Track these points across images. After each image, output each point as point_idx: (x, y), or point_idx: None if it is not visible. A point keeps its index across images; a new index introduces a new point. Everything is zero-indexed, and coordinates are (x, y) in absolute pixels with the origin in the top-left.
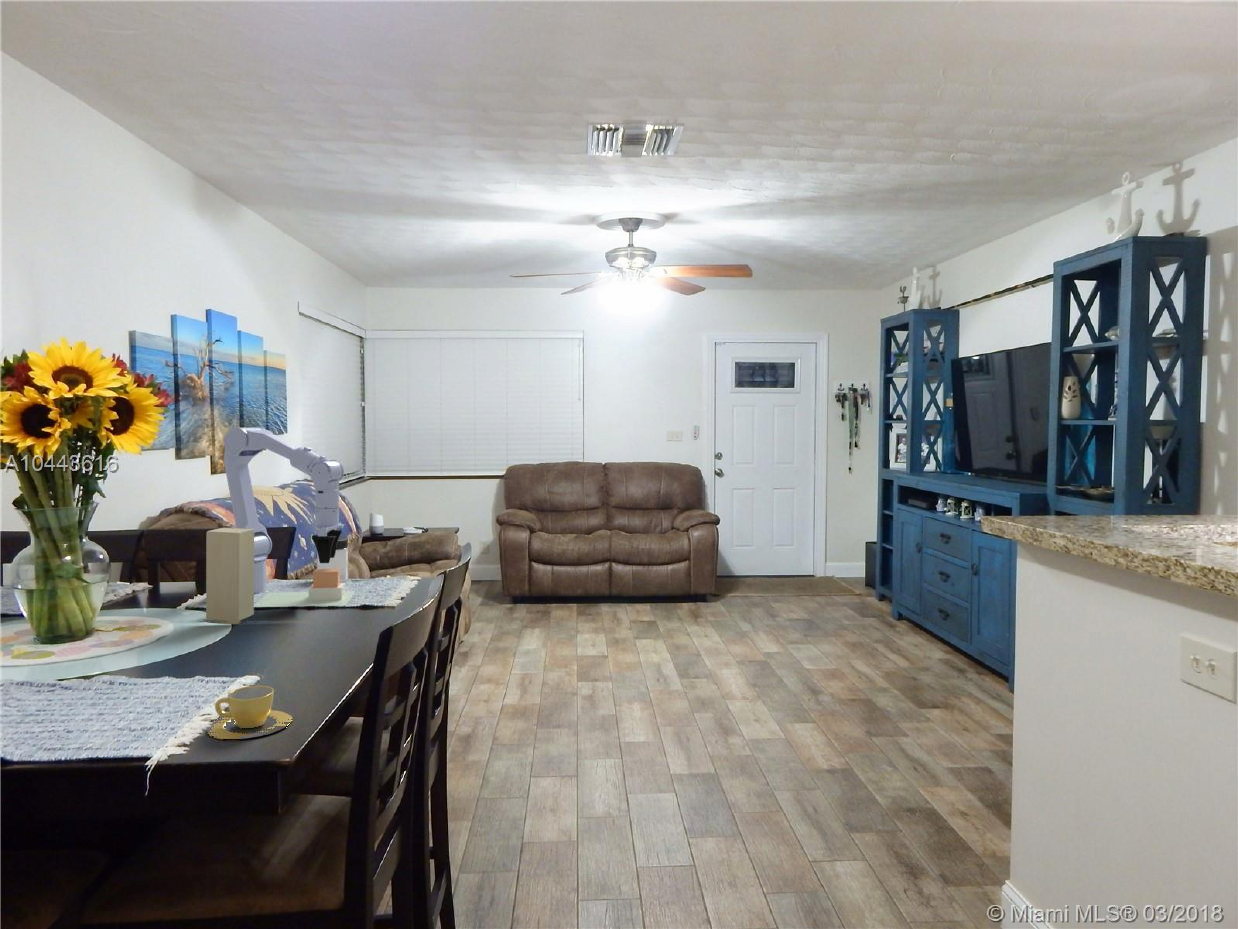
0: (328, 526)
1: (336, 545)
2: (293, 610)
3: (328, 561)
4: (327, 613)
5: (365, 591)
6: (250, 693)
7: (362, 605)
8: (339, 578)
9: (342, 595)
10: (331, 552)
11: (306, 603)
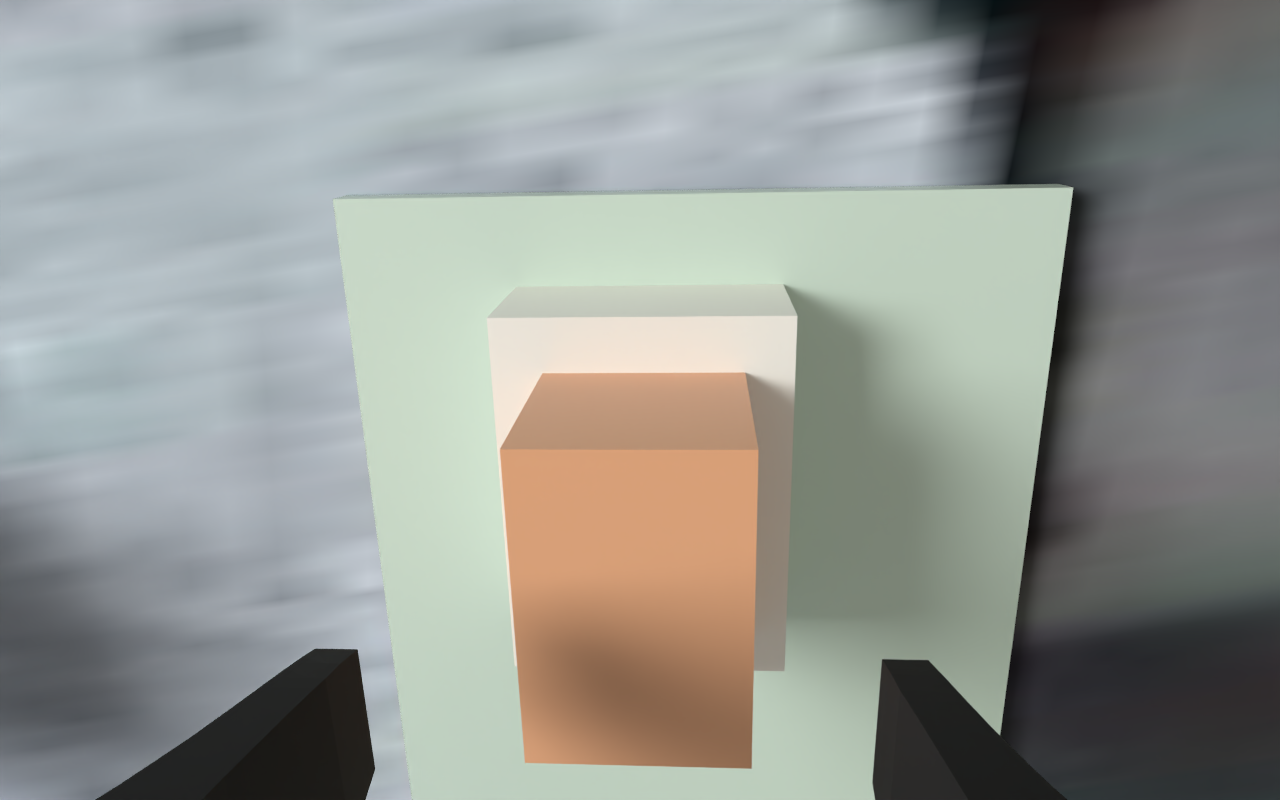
0: None
1: (186, 785)
2: (1034, 656)
3: (947, 681)
4: (1255, 340)
5: (199, 101)
6: None
7: (947, 13)
8: (594, 401)
9: (732, 292)
10: (314, 758)
11: (914, 594)
